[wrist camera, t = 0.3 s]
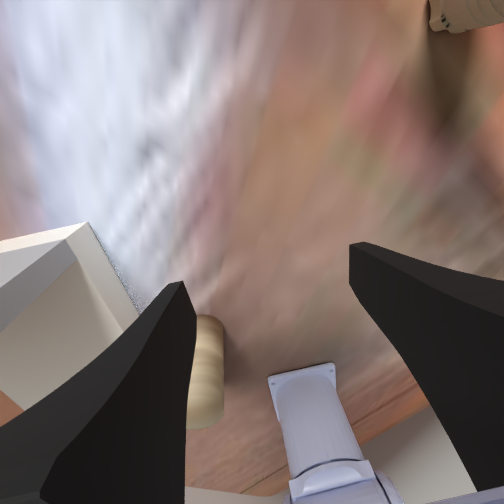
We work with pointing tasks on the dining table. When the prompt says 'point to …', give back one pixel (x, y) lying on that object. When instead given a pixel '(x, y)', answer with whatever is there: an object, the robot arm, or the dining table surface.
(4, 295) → the station
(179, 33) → the dining table surface
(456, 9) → the handle
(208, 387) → the peg
